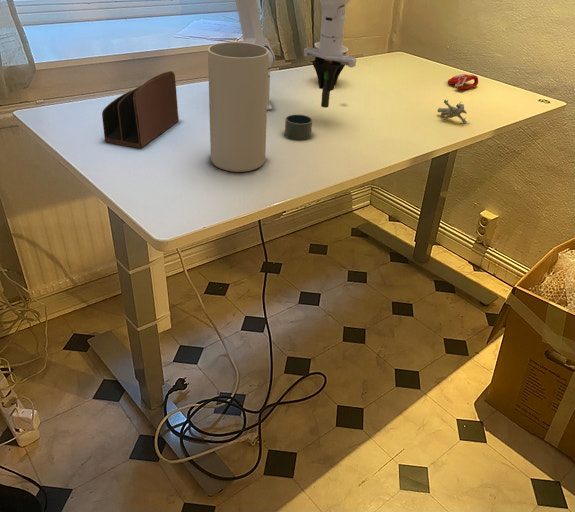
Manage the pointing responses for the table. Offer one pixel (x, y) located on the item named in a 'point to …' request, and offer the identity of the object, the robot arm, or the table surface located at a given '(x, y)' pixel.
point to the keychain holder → (461, 79)
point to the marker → (325, 91)
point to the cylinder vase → (238, 105)
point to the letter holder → (142, 112)
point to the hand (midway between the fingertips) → (326, 89)
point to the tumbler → (298, 127)
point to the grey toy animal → (453, 111)
